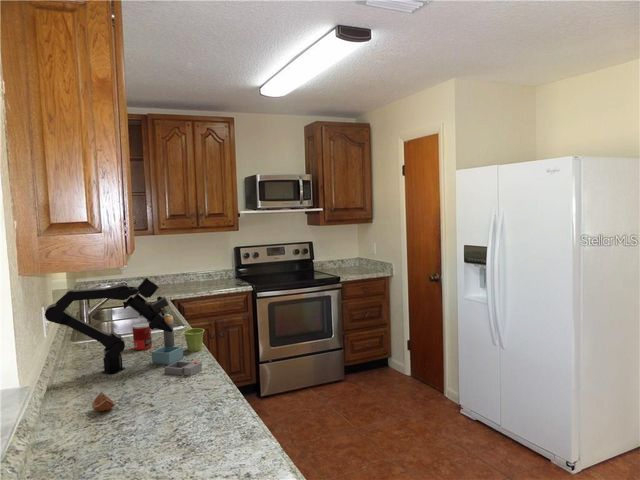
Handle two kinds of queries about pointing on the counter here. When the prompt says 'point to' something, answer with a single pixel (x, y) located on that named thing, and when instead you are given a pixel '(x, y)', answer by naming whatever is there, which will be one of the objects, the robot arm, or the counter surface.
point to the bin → (167, 355)
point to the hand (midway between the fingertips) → (171, 329)
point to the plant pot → (194, 339)
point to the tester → (183, 368)
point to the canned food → (142, 336)
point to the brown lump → (102, 403)
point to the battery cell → (169, 335)
